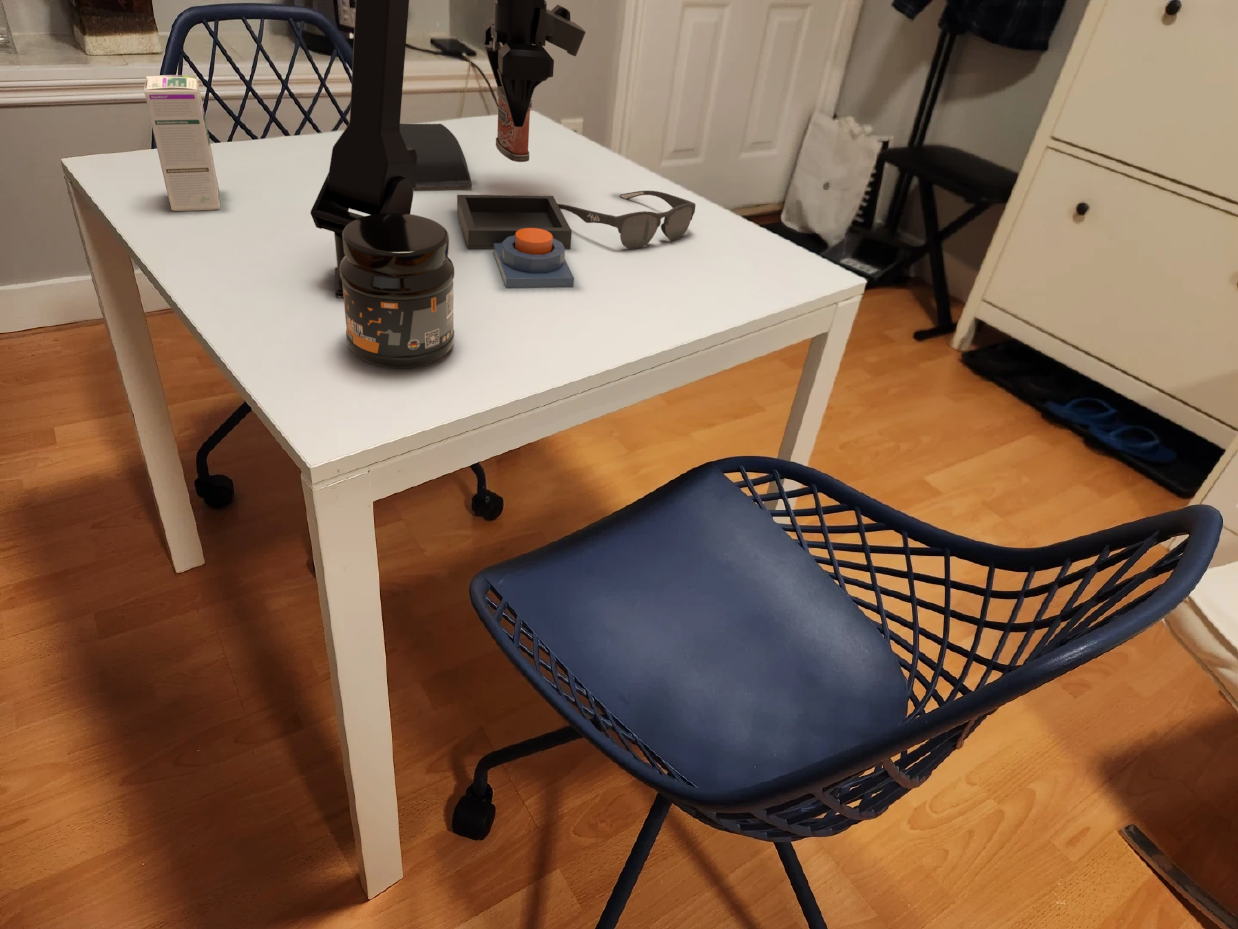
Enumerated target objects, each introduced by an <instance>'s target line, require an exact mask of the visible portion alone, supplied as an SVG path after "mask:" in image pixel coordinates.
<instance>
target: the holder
mask: <svg viewBox="0 0 1238 929" xmlns="http://www.w3.org/2000/svg"><path fill="white" fill-rule="evenodd" d="M558 204H559V203H558V202H557V200H556V199H555V196H554V195H529V194H528V195H526V194H525V195H524V194H523V195H521V194H519V195H518V194H515V195H514V194H456V209H457V210H456V214H457V216H458V220H459V224H460V226H461V230H462V233H463V237H464V240H465V244H466V247H467V249H468V250H493V248H494V243H502V242H503V241H504V240H505V239H506V238H507V237H510V236H514V235H515V234H516V232H517V231H518V230H520V229H524V228H538V229H543V230H546V231H548V232H550V233H551V234H552V236H553V238H554V239H556V240H558V241H560V242H562V244H563V246H564V248H565V250H571V247H572V246H571V245H572V236H573V235H572V233H573V230H572V228H571V226H570V224H569V223H568V221H567V218H565V215H564V213H563V212H562V209H560V208H559V206H558Z"/></svg>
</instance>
